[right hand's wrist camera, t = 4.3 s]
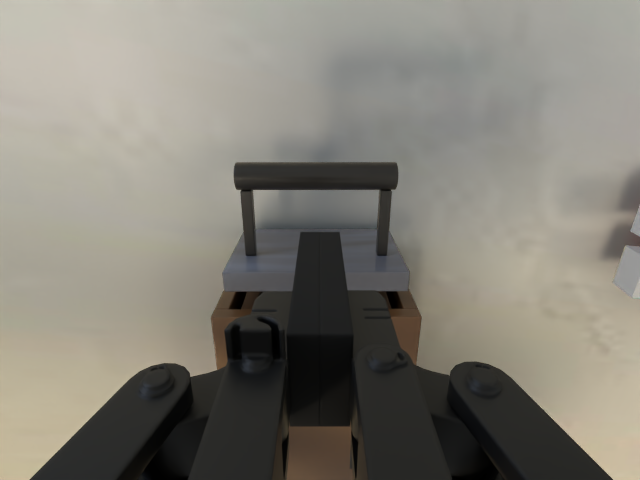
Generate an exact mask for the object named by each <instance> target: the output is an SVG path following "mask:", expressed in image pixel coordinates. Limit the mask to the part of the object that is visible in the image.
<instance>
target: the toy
mask: <svg viewBox="0 0 640 480" xmlns="http://www.w3.org/2000/svg"><path fill="white" fill-rule="evenodd" d="M631 232H632V233H634V234H636V235H638V236H639V237H640V206H639V208H638V211H637V214H636V217H635V219H634V222H633V225H632V228H631ZM612 282H613V283H614V284H615V285H616V286H617V287H619V288H620V289H621V290H622V291H624V292H625V293H626V294H627V295H628V296H630V297H631V298H635V299H640V246H628V245H625V247H624V250H623V253H622V256H621V258H620V261H619V264H618V267H617V270H616V272H615V275H614V278H613V281H612Z"/></svg>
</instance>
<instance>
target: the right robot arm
mask: <svg viewBox="0 0 640 480" xmlns="http://www.w3.org/2000/svg"><path fill="white" fill-rule="evenodd" d="M224 333H225V342H226V351H227V360H228V361H227V364H226V366H225V367H223V368H221V369H219V370H216V371H213V372H210V373H206V374H202V375H198V376H193V377H190V373H189V372H188V371H187V369H186V368H185V367H183V366H181V365H178V364H172V363H163V364H159V365H154V366H151V367H148V368H146V369H144V370H142V371H140V372H138V373H137V374H136V375H134V376H133V377H132V378H131V379H129V380H128V381H127V382H126V383H125V384H124V385H123V386H122V387H121V388H120V389H119V390H118V391H117V392H116V393H115V394H114V395H113V397H112V398H111V399H110V400H109V401H108V402H107V403H106V404H105V405H104V406H103V407H102V408H101V409H100V410H99V411H98V412H97V413H96V414H95V415H94V416H93V417H92V418H91V419H90V420H89V421H88V422H87V423H86V424H85V425H84V426H83V427H82V428H81V429H80V430H79V431H78V432H77V433H76V434H75V435H74V436H73V437H72V438H71V439H70V440H69V441H68V442H67V443H66V444H65V445H64V446H63V447H62V448H61V449H60V450H59V451H58V452H57V453H56V454H55V455H54V456H53V457H52V458H51V459H50V460H49V461H48V462H47V463H46V464H45V465H44V466H43V467H42V468H41V469H40V470H39V471H38V472H37V473H36V474H35V475H34V476H33V477H32V478H31V479H30V480H287V470H288V458H289V423H290V427H350V421H351V447H350V469H353V480H613V479H612V478H611V477H610V476H609V475H608V474H607V473H606V472H605V471H604V470H603V469H602V468H601V467H600V466H599V465H598V464H597V463H596V462H595V461H594V460H593V459H592V458H591V457H590V456H589V455H588V454H587V453H586V452H585V451H584V450H583V449H582V448H581V447H580V446H579V445H578V444H577V443H576V442H575V441H574V440H573V439H572V438H571V437H570V436H569V435H568V434H567V433H566V432H565V431H564V430H563V429H562V428H561V427H560V426H559V425H558V424H557V423H556V422H555V421H554V420H553V419H552V418H551V417H550V416H549V415H548V414H547V413H546V412H545V411H544V410H543V409H542V408H541V407H540V406H539V405H538V404H537V403H536V402H535V401H534V400H533V399H532V398H531V397H530V396H529V395H528V394H527V393H526V392H525V391H524V390H523V389H522V388H521V387H520V386H519V385H518V384H517V383H516V382H515V381H514V380H513V379H512V378H511V377H509V376H508V375H507V374H505V373H504V372H503V371H501V370H500V369H498V368H495V367H493V366H491V365H489V364H484V363H480V362H463V363H461V364H458V365H456V366H455V367H454V368H453V369H452V370H451V373H450V376H449V375H445V374H440V373H436V372H432V371H429V370H425V369H423V368H421V367H418V366H416V365H415V364H413V361H412V359H411V357H410V356H409V354H408V353H407V352H405V351H404V350H403V349H401V347H400V344H399V341H398V338H397V335H396V331H395V328H394V325H393V322H392V319H391V315H390V312H389V310H388V306H387V302H386V299H385V298H384V297H383V296H382V295H381V294H380V293H379V292H377V291H376V290H347V282H346V275H345V268H344V260H343V253H342V246H341V238H340V232H300V238H299V246H298V253H297V260H296V268H295V275H294V282H293V290H292V291H264V292H263V293H262V294H261V295H260V296H258V297H257V298H256V299H255V301H254V304H253V307H252V312H251V314H249V315H245V316H242V317H239V318H237V319H235V320H234V321H232V322H231V323H229V324H228V326H227V327H226V328H225V330H224Z"/></svg>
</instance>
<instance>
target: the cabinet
mask: <svg viewBox="0 0 640 480" xmlns="http://www.w3.org/2000/svg"><path fill="white" fill-rule="evenodd" d="M246 294H247V292H225V291H223V293H222V295H221V297H220V299H219V302H218V304H217V306H216V308H215V310H214V312H213V314H212V316H211V323H212V331H213V339H214V348H215V356H216V364H217V370H219V369H221V368H223V367H225V366H226V364H227V361H228V360H227V351H226V342H225V333H224V330H225V328H226V327H227V326H228V324H229V323H231V322H232V321H234V320H235V319H237V318H239V317H242V316H245V315H249V314H251V312H252V309H241V308H242V305H243V302H244V300H245V297H246ZM386 294H387V297H388V300H389V303H390V306H391V309H388V310H389V312H390V315H391V319H392V322H393V325H394V328H395V331H396V335H397V338H398V341H399V344H400V347H401V349H403V350H404V351H405V352H407V353H408V354H409V356H410V357H411V359H412V361H413V364H415V365H416V361H417V352H418V344H419V335H420V326H421V315H420V312H419V310H418V308H417V306H416V304H415V302H414V299H413V297H412V295H411V293H410V291H409V288H408V291H386ZM350 447H351V421H350V427H290V423H289V458H288V470H287V480H353V469H350Z"/></svg>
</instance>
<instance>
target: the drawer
mask: <svg viewBox="0 0 640 480" xmlns="http://www.w3.org/2000/svg"><path fill="white" fill-rule="evenodd" d="M234 183H235V187H236V189H237V190H241V204H242V217H243V230H244V232H243V234H242V236H241V238H240V240H239V242H238V244H237V245H236V247H235V249H234V251H233V253H232V255H231V257H230V259H229V261H228V263H227V265H226V267H225V269H224V271H223V283H224V291H225V292H247V294H246V297H245V300H244V302H243V305H242V308H241V309H252V307H253V304H254V301H255V299H256V298H257V297H258V296H260V295H261V294H262V293H263V292H264V291H292V290H293V282H294V275H295V268H296V260H297V253H298V246H299V238H300V232H340V238H341V246H342V253H343V260H344V268H345V275H346V282H347V290H376V291H377V292H379V293H380V294H381V295H382V296H383V297H384V298H385V299H386V302H387V306H388V309H391V306H390V303H389V300H388V297H387V294H386V291H408V286H409V276H410V271H409V269H408V267H407V266H406V264H405V262H404V260H403V258H402V256H401V254H400V252H399V250H398V248H397V246H396V244H395V242H394V240H393V238H392V236H391V234H390V232H389V222H390V208H391V194H392V191H391V190H395V189H396V187H397V183H398V166H397V163H395V162H237V163H235V166H234ZM253 190H379V204H378V221H377V229H255V214H254V199H253Z"/></svg>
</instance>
